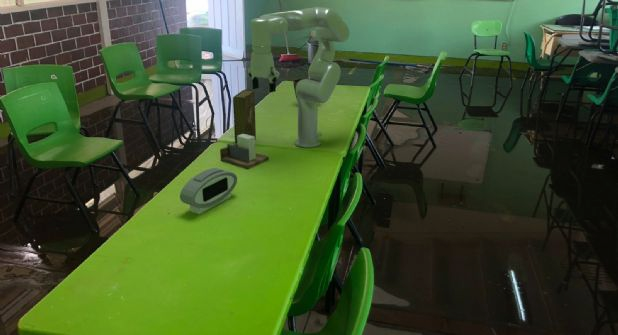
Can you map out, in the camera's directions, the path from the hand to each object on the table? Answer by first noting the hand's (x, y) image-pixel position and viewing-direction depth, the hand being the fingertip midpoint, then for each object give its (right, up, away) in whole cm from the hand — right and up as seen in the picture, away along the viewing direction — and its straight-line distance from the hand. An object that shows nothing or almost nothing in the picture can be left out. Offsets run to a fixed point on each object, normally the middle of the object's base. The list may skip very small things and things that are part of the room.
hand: (264, 90), depth 204 cm
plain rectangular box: (-9, -29, +8) cm, 31 cm away
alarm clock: (-16, -46, -31) cm, 58 cm away
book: (-12, -22, +30) cm, 39 cm away
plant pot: (+17, +5, +96) cm, 98 cm away
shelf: (-10, -30, +9) cm, 33 cm away
